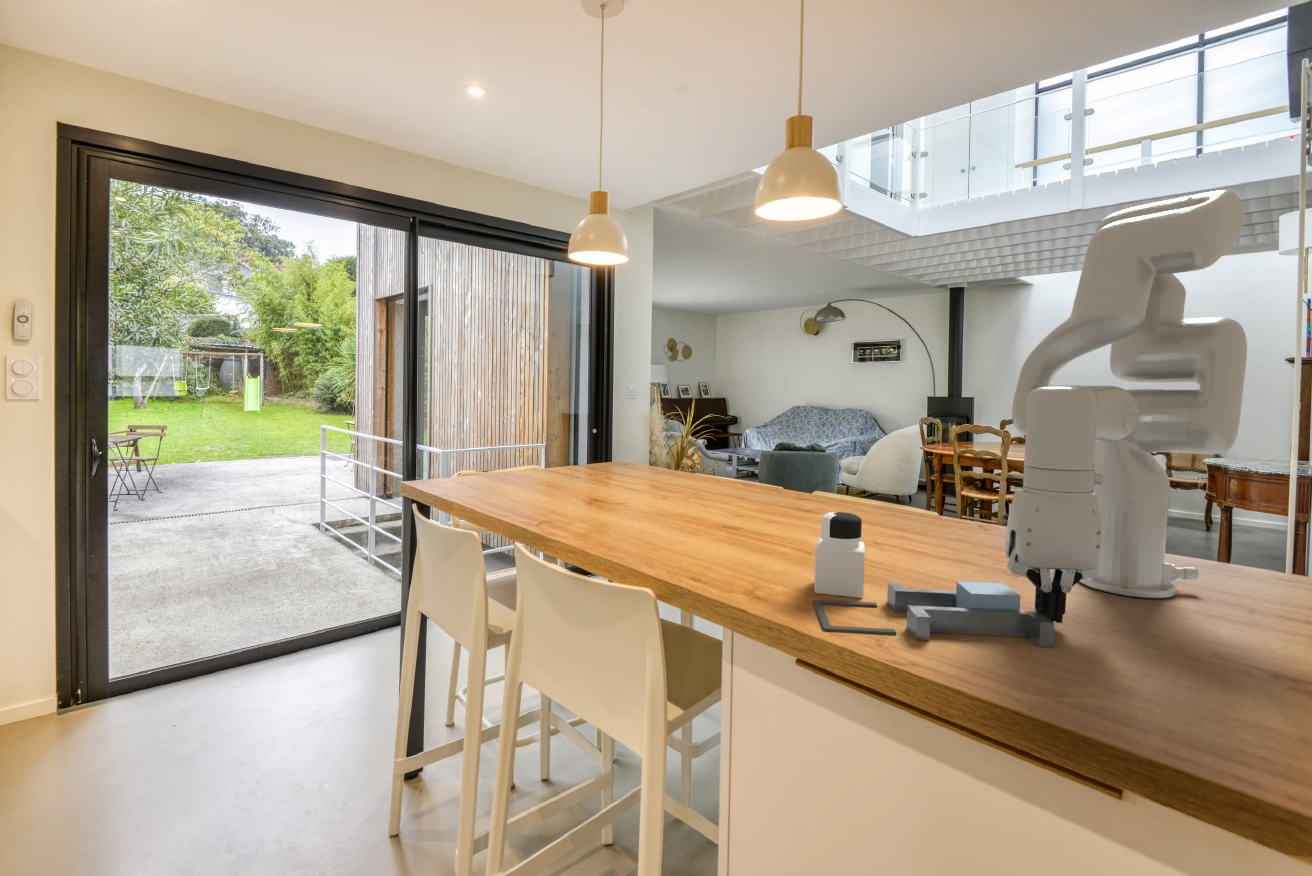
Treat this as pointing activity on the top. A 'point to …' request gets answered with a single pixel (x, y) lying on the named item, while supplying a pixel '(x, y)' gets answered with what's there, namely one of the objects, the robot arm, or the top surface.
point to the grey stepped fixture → (964, 617)
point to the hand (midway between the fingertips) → (1049, 618)
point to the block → (986, 596)
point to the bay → (827, 626)
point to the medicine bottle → (840, 556)
